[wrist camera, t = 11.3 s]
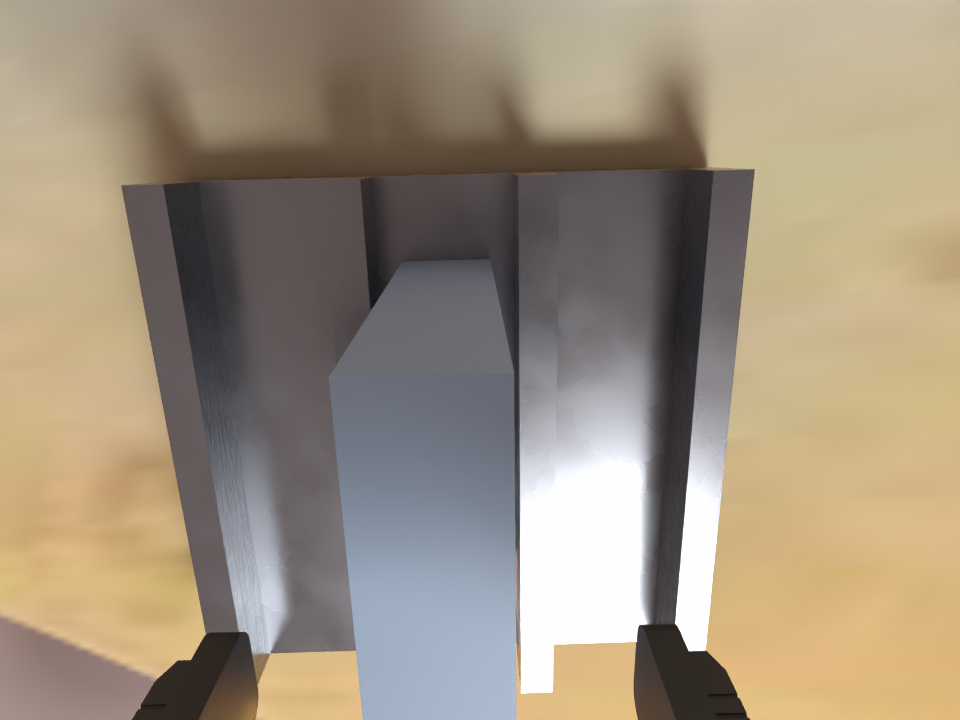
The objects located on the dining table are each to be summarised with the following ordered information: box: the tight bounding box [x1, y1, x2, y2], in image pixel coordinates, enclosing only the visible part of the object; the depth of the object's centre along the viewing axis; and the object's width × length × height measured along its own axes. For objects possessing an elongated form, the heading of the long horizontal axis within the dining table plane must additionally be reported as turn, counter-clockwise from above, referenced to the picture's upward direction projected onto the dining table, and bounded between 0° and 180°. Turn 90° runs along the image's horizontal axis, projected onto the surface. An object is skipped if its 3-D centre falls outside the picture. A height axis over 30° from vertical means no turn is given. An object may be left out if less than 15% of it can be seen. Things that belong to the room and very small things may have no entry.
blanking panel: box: [329, 259, 516, 720], centre depth 18 cm, size 12×3×12 cm, turn 1°
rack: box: [122, 168, 755, 693], centre depth 22 cm, size 19×18×6 cm
